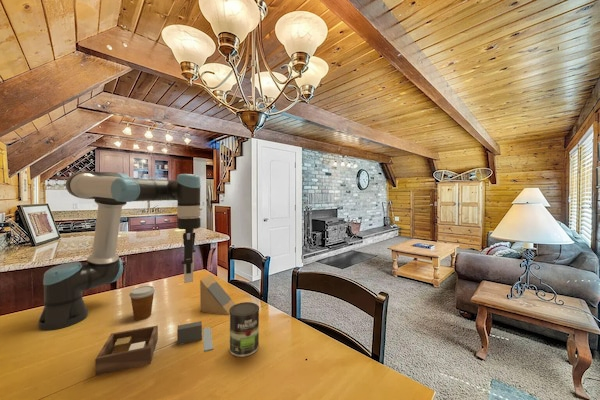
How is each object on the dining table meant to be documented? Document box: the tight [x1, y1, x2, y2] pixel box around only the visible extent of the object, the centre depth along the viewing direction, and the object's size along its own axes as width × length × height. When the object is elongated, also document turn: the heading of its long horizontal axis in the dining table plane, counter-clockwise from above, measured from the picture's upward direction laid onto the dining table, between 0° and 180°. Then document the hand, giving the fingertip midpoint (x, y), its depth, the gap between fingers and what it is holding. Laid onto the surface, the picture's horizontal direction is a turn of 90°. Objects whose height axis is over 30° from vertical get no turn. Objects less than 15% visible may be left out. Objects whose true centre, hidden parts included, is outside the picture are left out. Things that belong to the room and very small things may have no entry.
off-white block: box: [128, 341, 146, 351], centre depth 80 cm, size 4×4×4 cm
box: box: [94, 325, 159, 377], centre depth 81 cm, size 14×14×6 cm
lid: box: [176, 321, 214, 353], centre depth 90 cm, size 15×15×7 cm
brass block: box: [114, 336, 132, 353], centre depth 82 cm, size 4×4×4 cm
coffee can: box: [229, 301, 260, 358], centre depth 87 cm, size 10×10×14 cm
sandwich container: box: [199, 273, 236, 316], centre depth 115 cm, size 9×15×15 cm, turn 77°
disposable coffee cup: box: [128, 285, 156, 321], centre depth 108 cm, size 10×10×12 cm
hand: (189, 275), depth 89 cm, fingers open, 13 cm apart
